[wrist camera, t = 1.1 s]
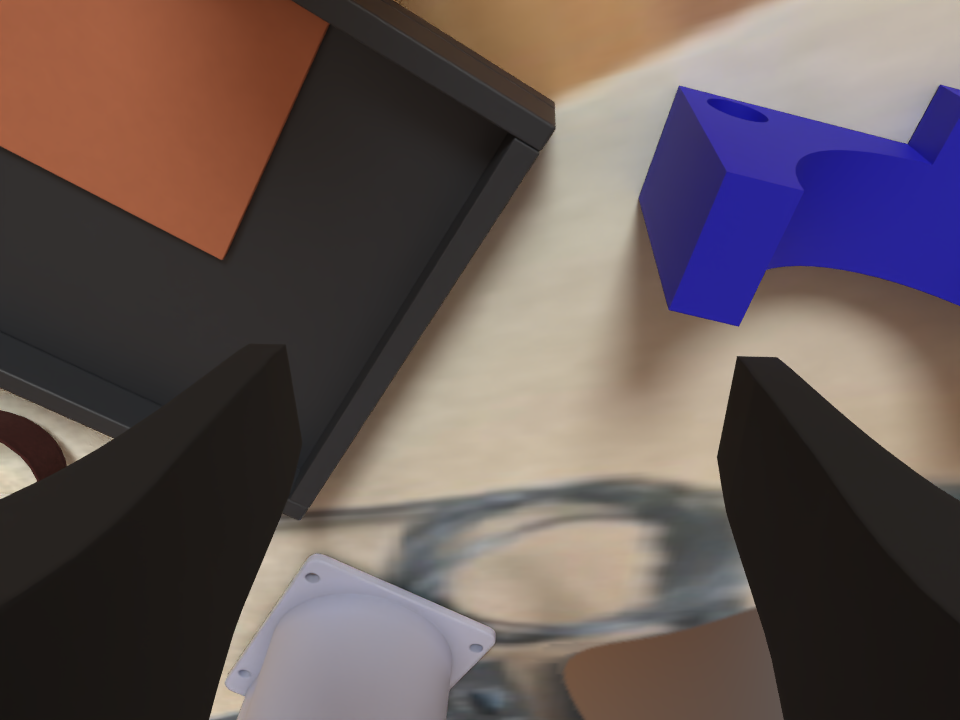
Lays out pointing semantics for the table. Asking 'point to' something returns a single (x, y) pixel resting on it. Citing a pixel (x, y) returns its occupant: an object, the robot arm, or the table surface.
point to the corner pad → (155, 100)
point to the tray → (279, 243)
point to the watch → (31, 445)
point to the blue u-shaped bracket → (798, 201)
